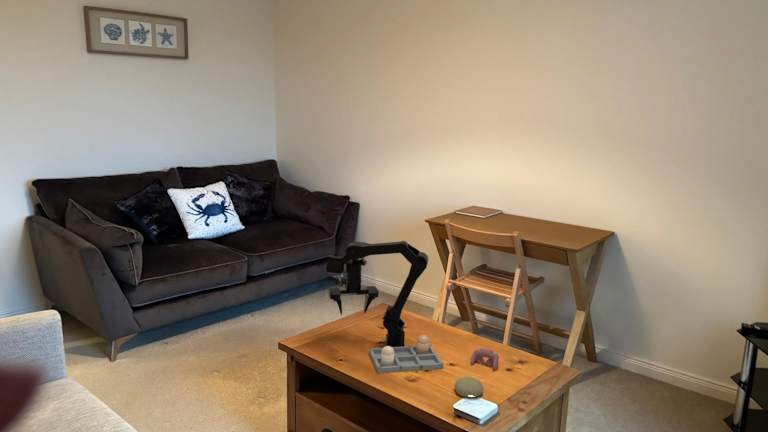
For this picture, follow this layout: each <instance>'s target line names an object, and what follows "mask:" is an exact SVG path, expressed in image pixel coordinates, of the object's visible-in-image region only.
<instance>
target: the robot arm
mask: <svg viewBox="0 0 768 432" xmlns="http://www.w3.org/2000/svg"><path fill="white" fill-rule="evenodd" d="M391 254H401V255H402V256H403V257H404V259H406V261H407V262H409V263H410V264H411V265H410V268H409V270H408V271H409V272H408V274H407V277H406V278H405V281H404V283H403V285H402V287H401V288H400V291H399V293H398V294H397V297H396V299H395V301H394V303H393V304H392V305H390V304H388V306H387V308H386V311H385V312H384V313H383V316H382V326H383V327H384V329H385V330H386V331H387V333H386V334H385V346H391V347H404V346H405V335H406V332H405V330H404V328H405V324H406V323H405V322H404V321H403V319H402V318H401V315H402V311H403V309H404V307H405V304H406V302H407V300H408V299H409V296H410V294H411V292H412V290H413V288H414V287H415V285H416V282H417V281H418V279H419V278H420V277H421V276H422V275H423V273H424V272H425V270H426V269H427V267H428V264H429V261H430V260H429V256H428V255H427V254H426V252H424V251H420V250H419V249H417V248H416V247H415V246H413V245H410V243H408V242H407V241H406V240H401V241H391V242H390V241H389V242H380V243H379V242H378V243H377V242H375V243H368V242H364V241H352V242H351V243H350V244H349V245H348V247H346V249H345V253H344V254H343V255H342V256H335V255H329V256H328V257H327V258H328V259H327V262H326V269H325V270H326V273H327V274H331V275H343V273H345V272H346V274H345V276H340V277H339V285H340V286H344V289H345V290H344V289H343V290H342V289H341V290H340V288H339V287H330V288H329V289H328V292H327V293H328V297H329V299H330V300H332V301H333V302H336V304H337V307H338V310H339V313H340V315H343V306H342V305H343V304H342V298H341V297H342V296H359V295H360V296H361V295H364V296H365V297H364V298H365V299H364V306H363V313H364V314H366V313H367V311H368V309H369V306H370V305H371V303H372V301H373V300H375V299H376V298H379V293H380V292H379V290H378V288H377V287H376V285H375V286H374V285H372V286H369V285H368V286H366V287H365V289H364V288H363V289H362V266H364V267H365V266H366V264H367V263H368V262H367V260H365V259H364V258H366V257H370V256H378V255H391Z"/></svg>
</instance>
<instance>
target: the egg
mask: <svg viewBox="0 0 768 432" xmlns="http://www.w3.org/2000/svg"><path fill="white" fill-rule="evenodd" d="M382 348H383V349H382V352H381V367H387V366H394V349H393V348H392V347H391V346H386V345H384V346H383V347H382Z"/></svg>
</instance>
